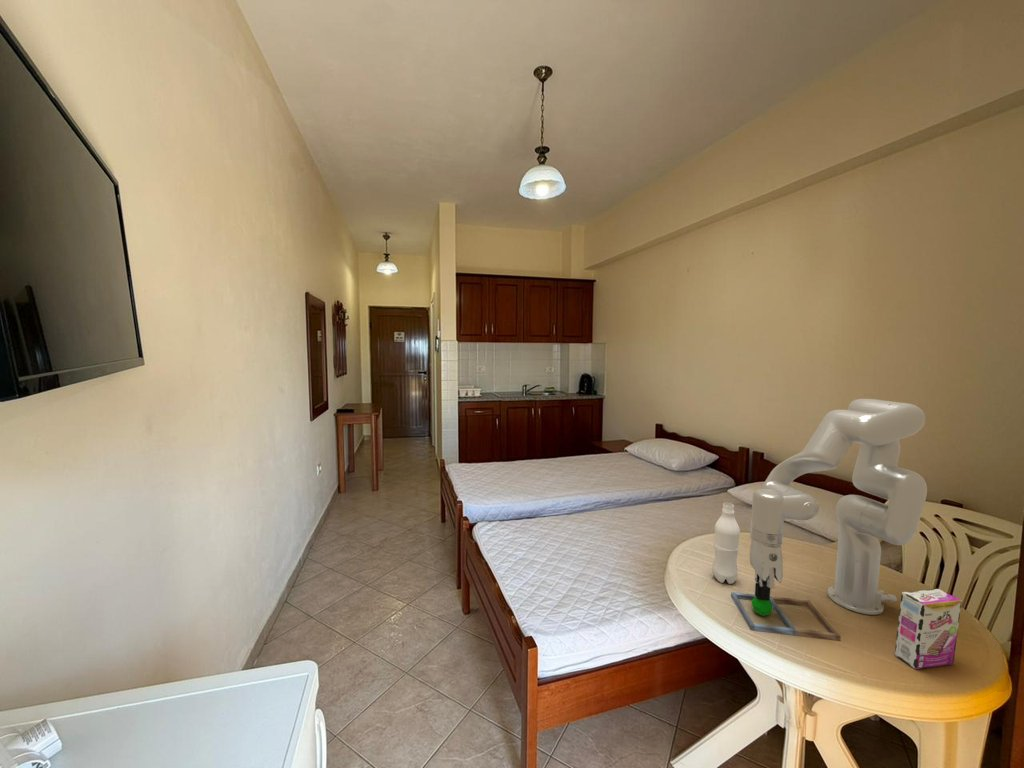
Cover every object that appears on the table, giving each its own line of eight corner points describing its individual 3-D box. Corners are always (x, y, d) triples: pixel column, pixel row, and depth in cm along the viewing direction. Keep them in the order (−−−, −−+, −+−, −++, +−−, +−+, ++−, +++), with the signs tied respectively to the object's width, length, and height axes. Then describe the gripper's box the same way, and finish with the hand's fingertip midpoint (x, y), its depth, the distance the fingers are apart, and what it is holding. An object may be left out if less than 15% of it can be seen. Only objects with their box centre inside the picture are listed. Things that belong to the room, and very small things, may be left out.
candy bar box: (917, 671, 93) (923, 604, 92) (893, 655, 98) (899, 591, 97) (956, 665, 95) (963, 599, 94) (931, 650, 100) (937, 587, 98)
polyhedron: (752, 605, 117) (753, 590, 116) (773, 612, 114) (774, 596, 113) (749, 614, 113) (750, 598, 113) (770, 622, 110) (771, 605, 109)
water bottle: (735, 588, 125) (739, 510, 123) (709, 580, 129) (713, 505, 127) (738, 578, 131) (743, 503, 128) (714, 571, 135) (718, 498, 133)
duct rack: (808, 604, 118) (809, 600, 117) (840, 640, 103) (840, 636, 103) (730, 595, 121) (731, 592, 121) (750, 629, 107) (750, 625, 107)
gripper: (795, 549, 103) (790, 617, 105) (769, 524, 118) (765, 584, 119) (762, 546, 104) (758, 613, 106) (741, 522, 119) (737, 581, 121)
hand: (762, 598), depth 113 cm, fingers closed
